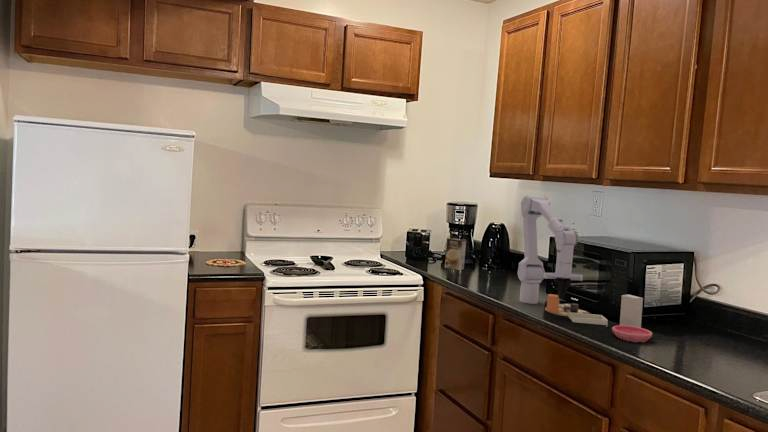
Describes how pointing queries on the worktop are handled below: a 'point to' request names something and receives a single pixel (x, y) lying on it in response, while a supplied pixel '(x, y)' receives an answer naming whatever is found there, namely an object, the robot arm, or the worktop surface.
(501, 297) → the worktop surface
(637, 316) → the skincare box
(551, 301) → the block
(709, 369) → the worktop surface
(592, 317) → the tray
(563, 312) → the crank plate
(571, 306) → the dark grey cylinder
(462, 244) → the coffee box
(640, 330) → the pink bowl
